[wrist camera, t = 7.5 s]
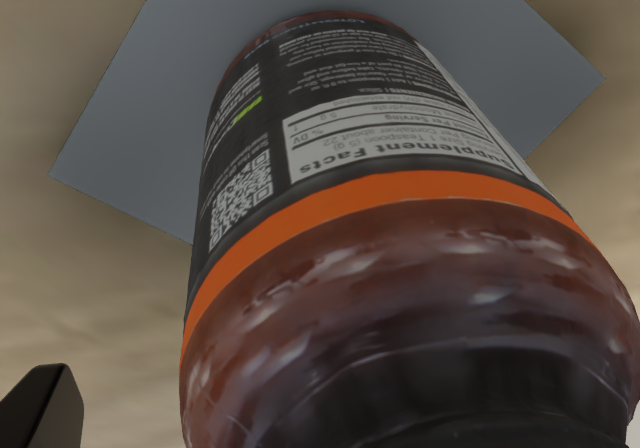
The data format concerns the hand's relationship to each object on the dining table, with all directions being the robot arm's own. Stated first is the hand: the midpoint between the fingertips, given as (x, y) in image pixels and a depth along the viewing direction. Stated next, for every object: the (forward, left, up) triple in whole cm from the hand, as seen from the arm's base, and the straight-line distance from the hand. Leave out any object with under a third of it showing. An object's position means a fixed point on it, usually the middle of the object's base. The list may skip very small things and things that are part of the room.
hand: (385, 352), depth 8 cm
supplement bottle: (0, 0, -8) cm, 8 cm away
